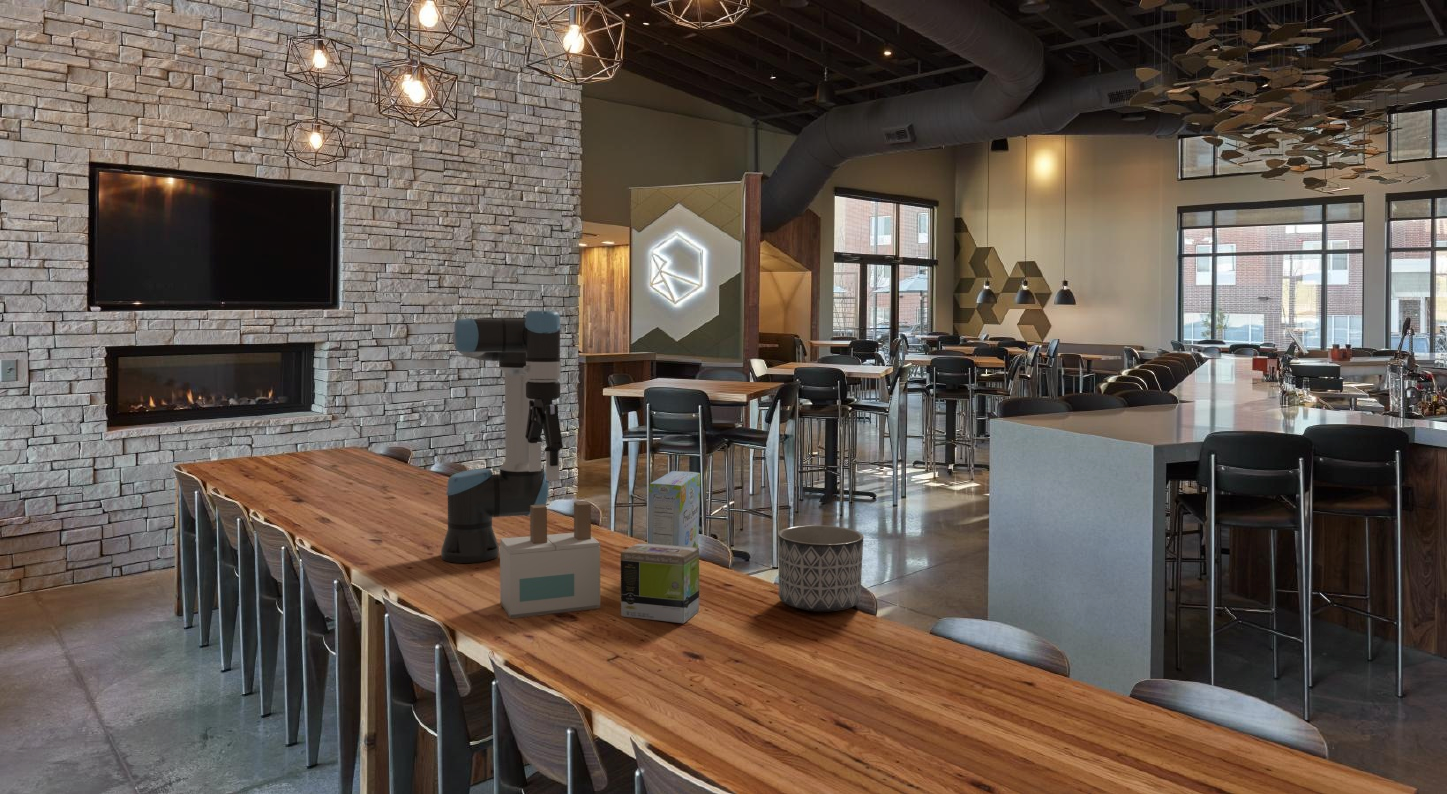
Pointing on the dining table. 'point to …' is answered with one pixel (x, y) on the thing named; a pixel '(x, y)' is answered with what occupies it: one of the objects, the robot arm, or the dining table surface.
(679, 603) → the tea box
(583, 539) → the carton
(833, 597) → the planter
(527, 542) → the flap near
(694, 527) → the snack box
